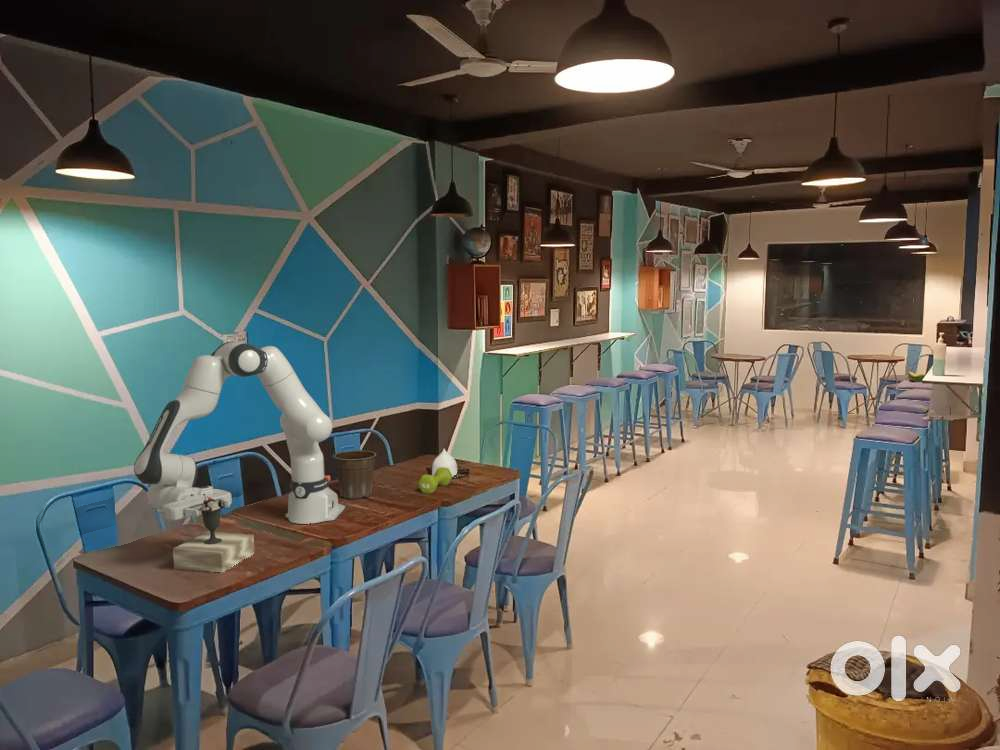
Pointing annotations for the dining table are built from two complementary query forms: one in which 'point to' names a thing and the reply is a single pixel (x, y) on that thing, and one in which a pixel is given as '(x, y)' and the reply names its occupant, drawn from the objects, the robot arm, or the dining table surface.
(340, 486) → the plant pot
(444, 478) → the dumbbell
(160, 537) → the dining table surface
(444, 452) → the teardrop
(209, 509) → the sundae
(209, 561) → the cream block
